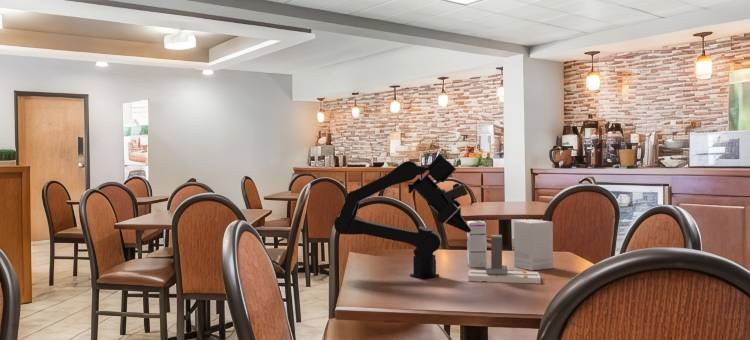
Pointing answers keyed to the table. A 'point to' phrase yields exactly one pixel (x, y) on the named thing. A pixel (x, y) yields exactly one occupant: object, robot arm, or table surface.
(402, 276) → the table surface
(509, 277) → the fader base
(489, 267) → the fader
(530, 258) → the supplement box
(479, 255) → the syrup box
